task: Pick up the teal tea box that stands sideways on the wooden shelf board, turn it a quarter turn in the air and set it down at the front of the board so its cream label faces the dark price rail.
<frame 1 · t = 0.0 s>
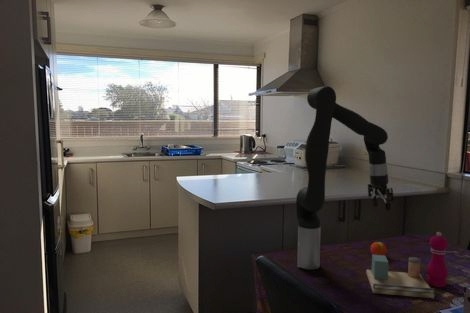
hand: (381, 208, 169), 22 cm above the table, tool pointing down, fingers open, 8 cm apart
clementine: (378, 257, 171), on the table
tea box: (379, 275, 146), point 2 cm above the table, touching shelf board
spice jar: (413, 276, 146), point 2 cm above the table, touching shelf board
pepper mill: (436, 284, 143), on the table
shelf board: (397, 284, 142), on the table
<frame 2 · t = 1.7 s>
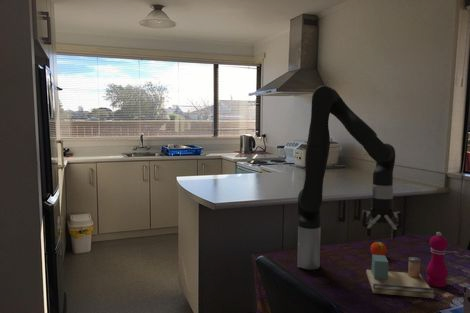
hand: (380, 237, 145), 17 cm above the table, tool pointing down, fingers open, 8 cm apart
nothing on the table moved.
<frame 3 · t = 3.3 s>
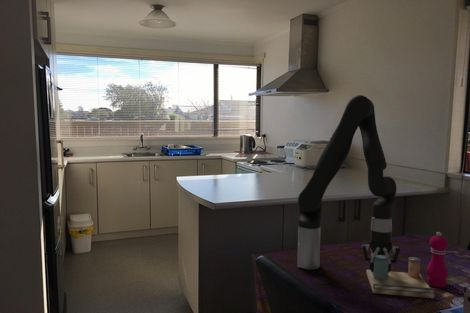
hand: (379, 271, 146), 3 cm above the table, tool pointing down, fingers closed on tea box, 5 cm apart
tea box: (379, 275, 146), point 2 cm above the table, touching gripper, shelf board
everything else where it was.
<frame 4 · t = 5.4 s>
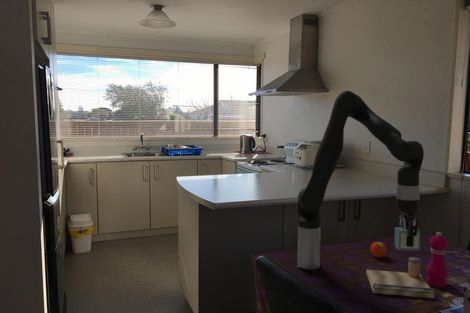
hand: (407, 243, 136), 17 cm above the table, tool pointing down, fingers closed on tea box, 5 cm apart
tea box: (407, 248, 136), point 16 cm above the table, touching gripper
everything else where it was.
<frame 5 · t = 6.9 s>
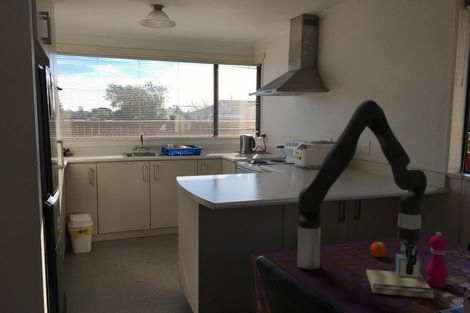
hand: (407, 271, 137), 7 cm above the table, tool pointing down, fingers closed on tea box, 5 cm apart
tea box: (407, 275, 137), point 6 cm above the table, touching gripper
everything else where it was.
when the fingers open (5 cm above the table, at t = 7.7 s): tea box drops 2 cm, resting on shelf board.
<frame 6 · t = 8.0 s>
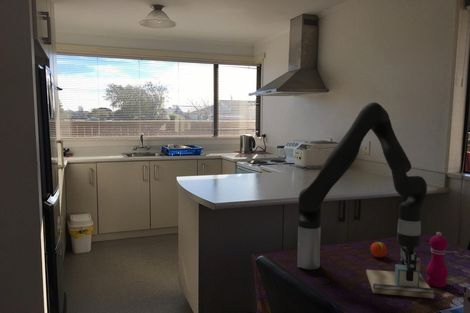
hand: (406, 276, 137), 5 cm above the table, tool pointing down, fingers open, 7 cm apart
tea box: (406, 286, 137), point 2 cm above the table, touching shelf board
everything else where it was.
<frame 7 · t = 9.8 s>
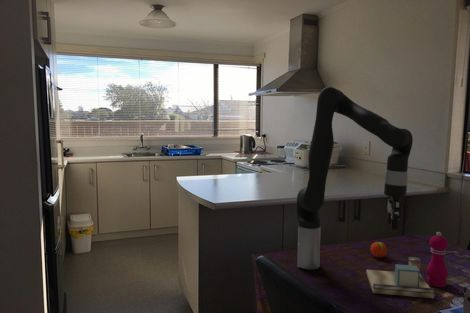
hand: (392, 226, 140), 22 cm above the table, tool pointing down, fingers open, 8 cm apart
nothing on the table moved.
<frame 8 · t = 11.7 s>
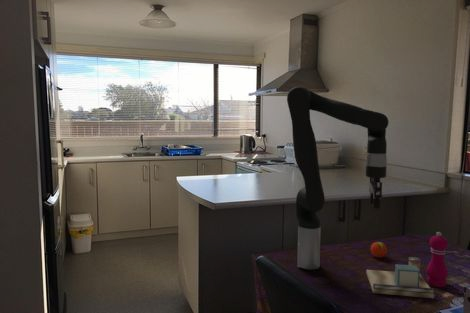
hand: (374, 205, 148), 28 cm above the table, tool pointing down, fingers open, 8 cm apart
nothing on the table moved.
at the end: tea box 0.1 cm from the target spot, point 1.6 cm above the table; tea box tilted 0°; the gripper is holding nothing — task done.
